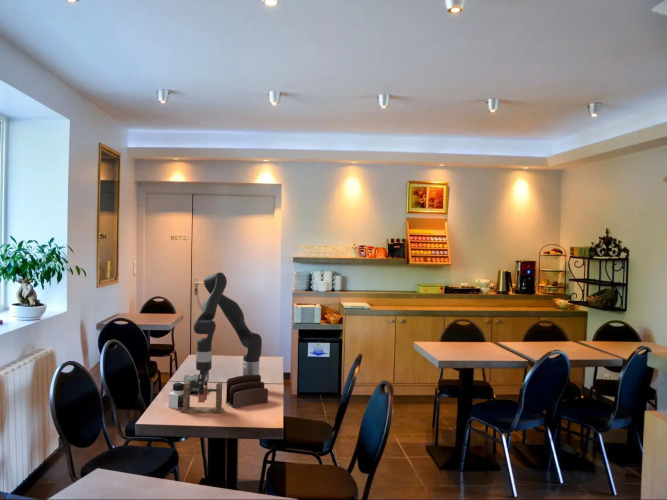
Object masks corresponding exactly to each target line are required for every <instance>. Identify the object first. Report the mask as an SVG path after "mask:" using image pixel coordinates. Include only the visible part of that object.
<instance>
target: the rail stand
mask: <svg viewBox="0 0 667 500" xmlns="http://www.w3.org/2000/svg"><path fill="white" fill-rule="evenodd" d="M190 391H192V392H194V391H199V389H190V381H186V382H185V383H184V395H183V408H181V409H180V413H184V414H186V413H188V414H189V413H191V414H193V413H194V414H222V413H223V411H224V409H225V408H224V407H222V405H223V404H222V403H223V402H222V401H223V398H222V397H223V381H218V382H217V383H216V387H215V388H207V389H205V391H207V392H211V393H212V392H214V393H215V406H210V407H209V406H191V403H190V402H191V392H190Z"/></svg>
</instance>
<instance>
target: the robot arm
mask: <svg viewBox="0 0 667 500" xmlns="http://www.w3.org/2000/svg"><path fill="white" fill-rule="evenodd" d="M227 282H228V280H227V277H226V275H225V274H224V273H223V272H219V271H218V272H216V273H213V274H210V275H208V276H205V277H204V278H203V284H204V287H205V289H206V291H207V293H209V295H208V297H207V298H206V300H205V301H204V302H203V306H202V308H201V312H200V314H199V316H198V317H197V318H196V320H195V322H194V324H193V332H194V333H195V334H196V335H207V336H206V337H204V338H203V337H202V338H199V339H198V340H197V342H196V343H197V344H196V358H195V360H196V361H195V370H196V371H199V373H198V374H197V375H198V387H199V395H203V394H204V385H207V386H208V383H209V380H210V379H209V378H210V370H212V361H213V360H212V359H213V357H212V356H213V353H212V347H213V346H212V345H213V344H212V343H213V338H214V336H215V335H214V334H215V331H216V327H217V326H216V322H215V321H214V319H215V317H216V313H217V308H218V306H219V308H220V309H221V311H222V313H223V315H224V316H225V317H226V319H227V320H228V322H229V324H230V325H231V327H232V328H233V330H234V331H235V333H236V335H237V337H238V339H239V341H240V343H241V345H242V346H243V347H244V348H247V353H246V354H244V355H243V356H242V357H243V358H242V360H243V362H242V376H243V375H260V357H261V354H262V348H263V347H262V346H263V345H262V344H263V341H262V337H261V334H259V333H256V332H252V331H251V329H249V328H248V326H247V325H246V322H245V315H244V312H243V310H242V309H241V307H240V305H239V304H238V303H237V302H236V301H235V300H233V299H231V298H230V297H228V296H226V295H225V294H224V292H225V289H226V286H227V284H228V283H227ZM200 383H202V384H200Z"/></svg>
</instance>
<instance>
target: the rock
mask: <svg viewBox="0 0 667 500" xmlns="http://www.w3.org/2000/svg"><path fill="white" fill-rule="evenodd" d="M186 381H190V389H199V387H198V374H193V375H191V376H190V375H189V374H185V375H184V376H183V382H182V383H185V382H186ZM200 384H202V383H200ZM192 392H194V393H199V391H190V393H192Z"/></svg>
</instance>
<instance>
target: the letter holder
mask: <svg viewBox="0 0 667 500" xmlns="http://www.w3.org/2000/svg"><path fill="white" fill-rule="evenodd" d="M225 394H226V395H225V397H226V398H225V404H226V405H228V406H229V407H231V408H232V409H236V408H243V407H250V406H256V405H257V406H258V405H264V404H268V403H269V389H268V388H266V387H265V382H264V381H262V376H261V374H259V375H243V374H242V375H237V376H233V377H229V378H228V379H227V380H226V393H225Z"/></svg>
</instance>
